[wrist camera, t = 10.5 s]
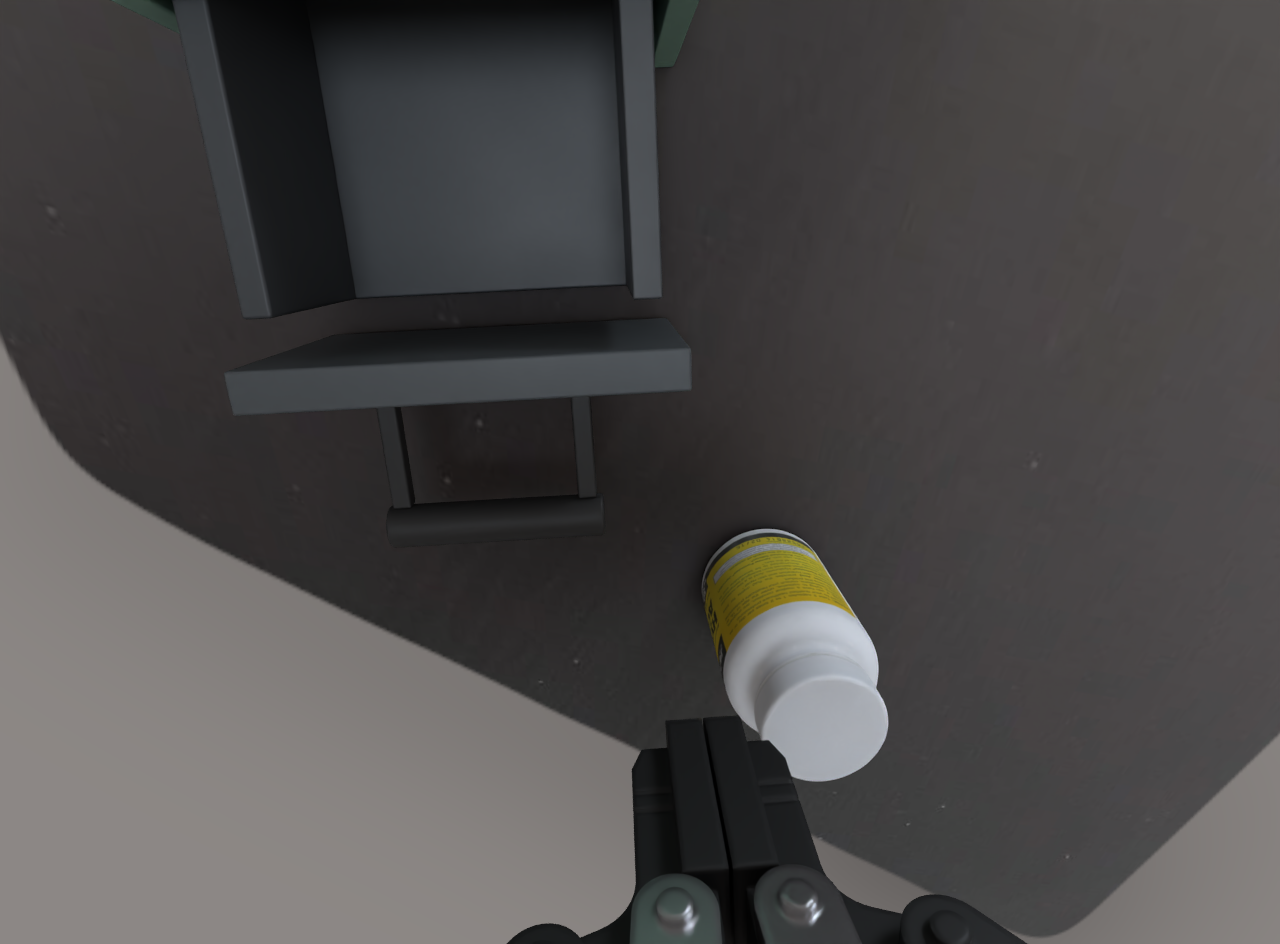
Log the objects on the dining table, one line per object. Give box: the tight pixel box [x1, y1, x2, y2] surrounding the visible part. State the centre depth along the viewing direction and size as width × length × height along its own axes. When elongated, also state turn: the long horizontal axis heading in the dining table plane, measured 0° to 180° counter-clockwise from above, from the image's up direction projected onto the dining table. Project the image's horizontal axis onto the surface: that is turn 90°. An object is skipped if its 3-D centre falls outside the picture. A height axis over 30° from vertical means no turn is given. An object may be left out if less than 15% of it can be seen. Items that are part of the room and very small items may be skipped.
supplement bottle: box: [702, 529, 888, 781], centre depth 26 cm, size 5×5×10 cm
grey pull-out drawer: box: [172, 0, 692, 548], centre depth 21 cm, size 20×12×8 cm, turn 3°
